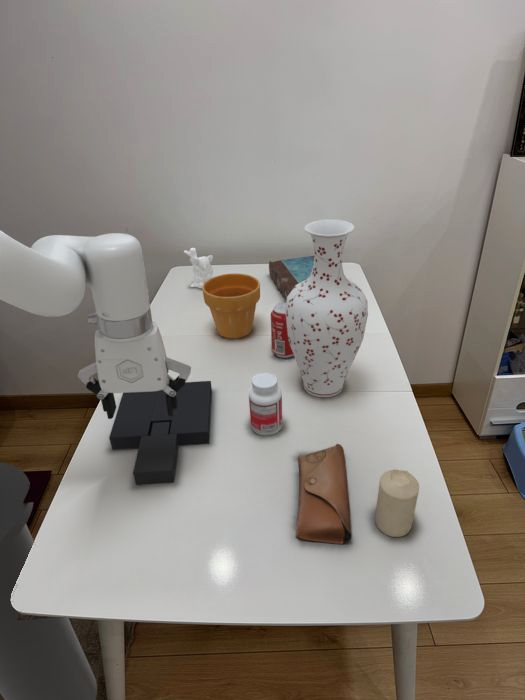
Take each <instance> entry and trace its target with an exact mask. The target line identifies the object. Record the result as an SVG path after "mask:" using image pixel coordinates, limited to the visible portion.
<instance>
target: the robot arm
mask: <svg viewBox="0 0 525 700" xmlns="http://www.w3.org/2000/svg"><path fill="white" fill-rule="evenodd" d="M147 283H148V282H147V275H146V269H145V263H144V255H143V249H142V246H141V242H140V241H139V240H138V239H137V238H136V237H135V236H134V235H132V234H129V233H121V232H111V233H104V234H99V235H97V236H85V235H83V236H81V235H68V234H67V235H66V234H51V235H46V236H43V237H41V238H39V239H38V240H36V241H35V242H34V243H33V244H32V245H31V247H29V246H27V245H25V244H23V243H21V242H20V241H18V240H16V239H14V237H13V238H12V237H11V235H8V234H6V233H5V232H4V231H2V230H1V229H0V301H2V302H4V303H7V304H8V305H12V306H13V307H15V308H18V309H20V310H23V311H25V312H28V313H29V314H34V315H37V316H41V317H47V318H60V317H63V316H67V315H69V314H72V313H73V312H74V311H75V310H77V309H78V307H79V306H80V305H81V304H82V301H83V300H84V297H85V293H86V287H89V288H90V290H91V294H92V299H93V304H94V309H95V312H93V313H88V315H87V322H88V324H93V325H96V326H97V329H96V331H95V333H94V353H95V354H94V356H95V361H94V362H93V363H91V364H89V365H87V366H84V367H83V368H81V369H80V370H79V371H78V374H77V378H78V379H79V380H80V381H81V382H82V383H83V385H85V387H86V389H87V390H88V391H90V392H92V393H93V394H94V395H96V398H97V399H99V400H100V401H101V406H102V410H103V412H105V413H106V415H107V419H108V420H112V419H114V416H115V413H116V410H117V404H116V400H115V395H114V394H123V393H130V392H152V391H159V390H163V391H164V392H166V404H167V411H168V416H173V412H174V409H177V406H178V402H177V394H176V392H178V391H179V390H180V389H181V388H182V387H183V386H184V385H185V382H187V380H188V378H189V376H190V375H191V372H192V367H191V366H190V365H189V364H186V363H183V362H181V361H178V360H175V359H172V358H170V357H167V352H166V347H165V344H164V343H165V342H164V340H163V337H162V333H161V332H160V329H159V326H158V324H157V322H155V321H153V315H152V310H151V304H150V303H151V301H150V297H149V289H148V284H147ZM169 370H170V371H171V372H173V373H177V374H179V375H178V376H176V378H173V377H172V376H171V375H170V374H169ZM95 374H97V378H98V379H96V378H95V377H93V376H94V375H95Z"/></svg>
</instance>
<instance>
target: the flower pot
mask: <svg viewBox="0 0 525 700" xmlns="http://www.w3.org/2000/svg"><path fill="white" fill-rule="evenodd" d="M201 290H202V295H203V296H202V297H203V302H204V304H205V305H206V306H207V307H208V308H209V310H210V313H211V317H212V319H213V322H214V325H215V327H216V330H217V333H218V334H219V335H220V336H221V337H223V338H226V339H242V338H244V337H246V336H248V335H250V333H251V332H252V331H253V326H254V321H255V315H256V308H257V303H259V301H260V300H261V283H260V281H259V279H258V278H257V277H255V276H253V275H250V274H246V273H237V272H236V273H224V274H220V275H216V276H212V278H211V279H209V280H206V282H205V283H204V284H203V287H202V289H201Z"/></svg>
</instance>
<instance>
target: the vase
mask: <svg viewBox="0 0 525 700" xmlns="http://www.w3.org/2000/svg"><path fill="white" fill-rule="evenodd" d="M303 227H304V231H305V232H306V233H308V234H309V235H310V236H311V237H310V238H311V239H312V245H313V252H314V255H313V256H314V266H313V269H312V272H311V275H310V277H309V278H308V279H306V280H305V281H303V282H301V283H299V284H297V285H296V286H295V287H294V288H293V290H292V291H291V292H290V294H289V295H288V296H287V300H286V299H285V303H286V308H285V313H286V323H287V332H288V339H289V343H290V346H291V349H292V352H293V354H294V355H293V357H294V359H295V362H296V365H297V368H298V371H299V373H300V376H301V378H302V381H303V388H304V390H305V391H306V392H307V393H308V394H310V395H311V396H314V397H318V398H330V397H333V396H337V395H338V394H340V393H341V392H342V391H343V388H344V382H345V380H346V378H347V376H348V374H349V371H350V369H351V367H352V366H353V363H354V361H355V359H356V356H357V354H358V353H359V350H360V348H361V345H362V343H363V341H364V336H365V333H366V327H367V322H368V316H369V305H368V299H367V297H366V294H365V293H364V291H363V290H362V288H361V287H360V286H359V285H357V284H356V283H354V282H352V281H351V280H350V279H348V278H347V277H346V275H345V272H344V267H343V253H344V248H345V244H346V239H347V238H348V236H349V234H351V233H353V232H354V230H355V225H354V224H353V223H351V222H349V221H347V220H343V219H334V218H333V219H330V218H329V219H320V220H315V221H311V222H308V223H307V224H305V226H303Z"/></svg>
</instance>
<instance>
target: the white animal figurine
mask: <svg viewBox="0 0 525 700" xmlns="http://www.w3.org/2000/svg"><path fill="white" fill-rule="evenodd" d="M183 253H184V254H185V255H187V256H188V257H190V258H189V262H190V263H191V265H192V272H193V276H192V279H193V283H192V284H190V288H197V289H201V290H203V289H202V287H203V284H204V283H205V282H206V281H207V280H209V279H211V278H213V277H214V276H213V275H214V268H213V266H212V264H211V262H213V260H214V256H213V255H212V254H208V256H204V255H203V256H199V257H198V254H197V249H196V248H195V247H191V248H190V249H189V250H186V249H185V250H183Z"/></svg>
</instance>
